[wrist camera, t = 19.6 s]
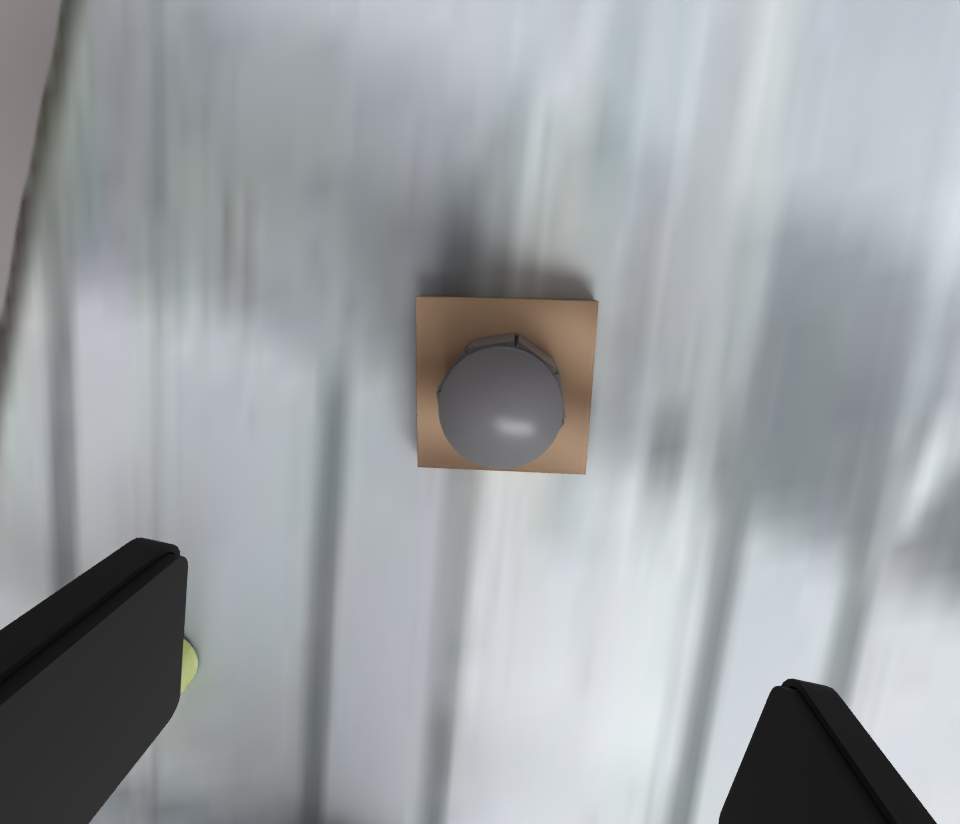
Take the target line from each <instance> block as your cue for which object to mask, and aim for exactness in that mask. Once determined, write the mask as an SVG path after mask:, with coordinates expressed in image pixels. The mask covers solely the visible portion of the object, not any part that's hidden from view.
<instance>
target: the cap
mask: <svg viewBox="0 0 960 824" xmlns="http://www.w3.org/2000/svg"><path fill="white" fill-rule="evenodd" d="M437 388H438V391H437V392H436V395H437V400H438V413H439V420H440V424H441V428H442V430H443V432H444V436H446V438H447V441H448V442H449V443H450V444H451V446H452V447H453V448H454V449H455V450H456V451H457V452H458V453H459V454H460V455H462V456H463V457H464V458H466V459H467V460H469V461H471V462H472V463H475V464H477V465H479V466H483V467H486V468H492V469H511V468H516V467H520V466H523V465H526V464H528V463H530V462H532V461H533V460H535V459H537V458H538V457H539V456H541V455H542V454H543V453H544V452H545V451H546V450H547V449H548V448H549V447H550V446H551V444H552V443H553V441H554V440H555V438H556V436H557V434H558V432H559V430H560V429H561V427H562V426H563V425H564V424H565V422H564V419H566V415H565V408H564V400H563V393H562V386H561V379H560V373H559V370H558V368H557V366H556V363H555V361H554V360H553V358H552V357H551V356H550V355H549V354H547V353H546V352H545V351H543V350H542V349H540V348H539V347H538V346H536V345H535V344H534V343H532V342H531V341H529V340H528V339H527V338H525V337H524V336H522V335H521V334H520V333H519V334H518V335H517V336H516V337H515V332H512V333H506V334H499V335H493V336H487V337H481V338H475V339H474V340H473V341H472V342H471V341H470V342H469V344H468V345H467V346H466V348H465V349H464V350H463V352H462V353H461V355H460V356H459V357H458V359H457V360H456V362H455V363H454V365H453V366H452V367H451V369H450V370H449V372H448V373H447V375H446V376H445V377H444V379H443V380H442V382H441V383H440V385H439V386H438V387H437Z"/></svg>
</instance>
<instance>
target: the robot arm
mask: <svg viewBox="0 0 960 824" xmlns="http://www.w3.org/2000/svg"><path fill="white" fill-rule="evenodd" d="M187 573H188V562H187V559H186V558H185V557H183V556H180V551H179V549H178V547H177V546H175V545H173V544H168V543H164V542H159V541H155V540H150V539H145V538H136V539H134V540H132V541H130V542H129V543H127V544H126V545H124V546H123V547H121V548H120V549H118V550H117V551H115V552H114V553H112V554H111V555H110V556H108V557H107V558H105V559H104V560H102V561H101V562H99V563H98V564H96V565H95V566H93V567H92V568H91V569H89V570H88V571H86V572H85V573H83V574H82V575H80V576H79V577H77V578H76V579H74V580H73V581H72V582H70V583H69V584H67V585H66V586H64V587H63V588H61V589H60V590H58V591H57V592H55V593H54V594H53V595H51V596H50V597H48V598H47V599H45V600H44V601H42V602H41V603H39V604H38V605H36V606H35V607H34V608H32V609H31V610H29V611H28V612H26V613H25V614H23V615H22V616H20V617H19V618H17V619H16V620H15V621H13V622H12V623H10V624H9V625H7V626H6V627H4V628H3V629H1V630H0V824H89V822H90V821H91V820H92V818H93V817H94V816H95V815H96V813H97V812H98V811H99V809H100V808H101V807H102V806H103V804H104V803H105V802H106V801H107V799H108V798H109V797H110V795H111V794H112V793H113V792H114V790H115V789H116V788H117V787H118V785H119V784H120V783H121V781H122V780H123V779H124V778H125V776H126V775H127V774H128V773H129V771H130V770H131V769H132V767H133V766H134V765H135V764H136V762H137V761H138V760H139V759H140V757H141V756H142V755H143V753H144V752H145V751H146V750H147V748H148V747H149V746H150V745H151V743H152V742H153V741H154V739H155V738H156V737H157V736H158V734H159V733H160V732H161V731H162V729H163V728H164V727H165V725H166V724H167V723H168V722H169V720H170V719H171V717H172V715H173V714H174V712H175V710H176V707H177V705H178V702H179V698H180V692H181V675H182V658H183V641H184V624H185V607H186V590H187ZM719 824H937V823H936V822H935V821H934V819H933V818H932V817H931V815H930V814H929V813H928V811H927V810H926V809H925V807H924V806H923V805H922V803H921V802H920V801H919V800H918V798H917V797H916V796H915V794H914V793H913V792H912V790H911V789H910V788H909V786H908V785H907V784H906V782H905V781H904V780H903V779H902V777H901V776H900V775H899V773H898V772H897V771H896V769H895V768H894V767H893V765H892V764H891V763H890V761H889V760H888V759H887V758H886V756H885V755H884V754H883V752H882V751H881V750H880V748H879V747H878V746H877V744H876V743H875V742H874V740H873V739H872V738H871V737H870V735H869V734H868V733H867V731H866V730H865V729H864V727H863V726H862V725H861V723H860V722H859V721H858V719H857V718H856V717H855V716H854V714H853V713H852V712H851V710H850V709H849V708H848V706H847V705H846V704H845V702H844V701H843V700H842V698H841V697H840V696H839V695H838V693H837V692H836V691H835V690H834V689H832V688H830V687H828V686H824V685H820V684H815V683H810V682H806V681H801V680H797V679H787V680H786V681H785V682H783V684H782V686H775V687H774V688H773V689H772V690H771V692H770V694H769V697H768V699H767V701H766V704H765V706H764V709H763V711H762V714H761V716H760V718H759V721H758V723H757V726H756V728H755V731H754V733H753V735H752V738H751V740H750V743H749V745H748V748H747V750H746V752H745V755H744V757H743V760H742V762H741V765H740V767H739V769H738V772H737V774H736V777H735V779H734V781H733V784H732V786H731V789H730V791H729V794H728V796H727V798H726V801H725V803H724V806H723V808H722V811H721V813H720V817H719Z"/></svg>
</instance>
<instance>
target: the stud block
mask: <svg viewBox="0 0 960 824" xmlns="http://www.w3.org/2000/svg"><path fill="white" fill-rule="evenodd" d="M597 315H598V301H596V300H566V299H524V298H481V297H439V296H419V297H416V352H417V452H418V467H428V468H450V469H473V470H495V471H518V472H541V473H563V474H586V462H587V449H588V435H589V422H590V408H591V395H592V382H593V368H594V355H595V341H596V328H597ZM512 332H515V337H516V336H517V335H518V334H519V333H520V334H521V335H522V336H524V337H525V338H527V339H528V340H529V341H531V342H532V343H534V344H535V345H536V346H538V347H539V348H540V349H542V350H543V351H545V352H546V353H547V354H549V355H550V356H551V357H552V358H553V360H554V361H555V363H556V366H557V368H558V370H559V373H560V379H561V386H562V393H563V400H564V408H565V415H566V419H564V422H565V424H564V425H563V426H562V427H561V429H560V430H559V432H558V434H557V436H556V438H555V440H554V441H553V443H552V444H551V446H550V447H549V448H548V449H547V450H546V451H545V452H544V453H543V454H542V455H541V456H539V457H538V458H537V459H535V460H533V461H532V462H530V463H528V464H526V465H523V466H520V467H516V468H511V469H492V468H486V467H483V466H479V465H477V464H475V463H472V462H471V461H469V460H467V459H466V458H464V457H463V456H462V455H460V454H459V453H458V452H457V451H456V450H455V449H454V448H453V447H452V446H451V444H450V443H449V442H448V441H447V438H446V436H444V432H443V430H442V428H441V424H440V420H439V413H438V400H437V395H436V392H437V391H438V388H437V387H438V386H439V385H440V383H441V382H442V380H443V379H444V377H445V376H446V375H447V373H448V372H449V370H450V369H451V367H452V366H453V365H454V363H455V362H456V360H457V359H458V357H459V356H460V355H461V353H462V352H463V350H464V349H465V348H466V346H467V345H468V344H469V342H470V341H471V342H472V341H473V340H474V339H475V338H481V337H487V336H493V335H499V334H506V333H512Z"/></svg>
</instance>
